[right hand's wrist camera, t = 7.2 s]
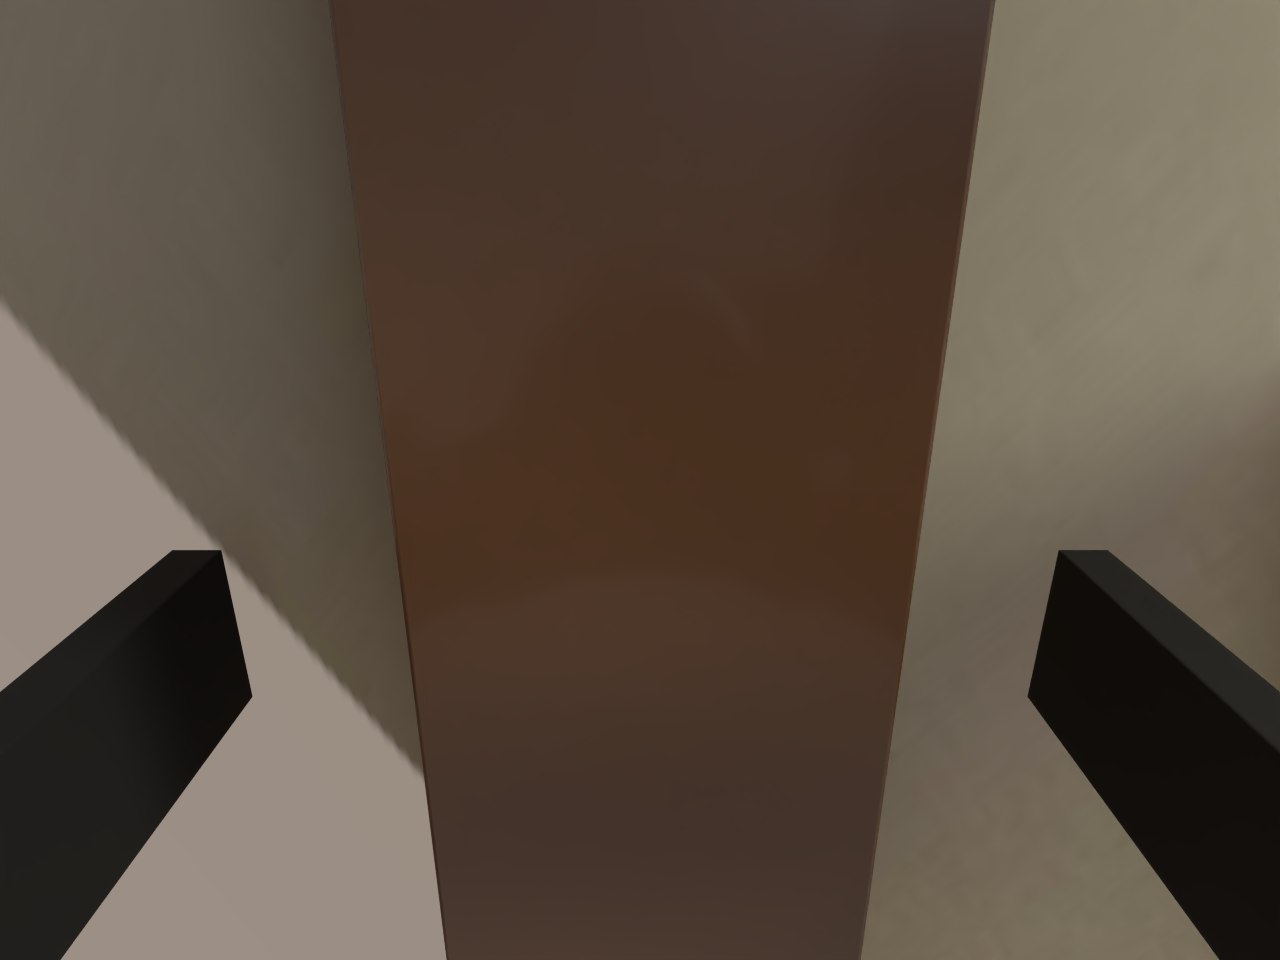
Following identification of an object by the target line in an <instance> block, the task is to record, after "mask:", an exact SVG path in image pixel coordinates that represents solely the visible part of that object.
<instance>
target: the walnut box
mask: <svg viewBox="0 0 1280 960" xmlns="http://www.w3.org/2000/svg"><path fill="white" fill-rule="evenodd" d="M994 6H995V0H329V8H330V17H331V25H332V33H333V41H334V49H335V57H336V65H337V73H338V81H339V90H340V98H341V106H342V114H343V122H344V130H345V138H346V146H347V155H348V163H349V171H350V179H351V187H352V195H353V203H354V211H355V219H356V228H357V236H358V244H359V252H360V260H361V268H362V276H363V284H364V292H365V301H366V309H367V317H368V325H369V333H370V341H371V349H372V357H373V365H374V374H375V382H376V390H377V398H378V406H379V414H380V422H381V430H382V439H383V447H384V455H385V463H386V471H387V479H388V487H389V495H390V503H391V512H392V520H393V528H394V536H395V544H396V552H397V560H398V568H399V577H400V585H401V593H402V601H403V609H404V617H405V625H406V633H407V641H408V650H409V658H410V666H411V674H412V682H413V690H414V698H415V706H416V714H417V723H418V731H419V739H420V747H421V755H422V763H423V771H424V779H425V788H426V796H427V804H428V812H429V820H430V828H431V836H432V844H433V852H434V861H435V869H436V877H437V884H438V893H439V901H440V909H441V917H442V925H443V934H444V942H445V950H446V958H447V960H860V959H861V952H862V945H863V938H864V931H865V924H866V917H867V909H868V902H869V895H870V888H871V881H872V874H873V867H874V860H875V852H876V845H877V838H878V831H879V824H880V817H881V810H882V803H883V796H884V788H885V781H886V774H887V767H888V760H889V753H890V746H891V739H892V732H893V724H894V717H895V710H896V703H897V696H898V689H899V682H900V675H901V667H902V660H903V653H904V646H905V639H906V632H907V625H908V618H909V611H910V603H911V596H912V589H913V582H914V575H915V568H916V561H917V554H918V546H919V539H920V532H921V525H922V518H923V511H924V504H925V497H926V490H927V482H928V475H929V468H930V461H931V454H932V447H933V440H934V433H935V426H936V418H937V411H938V404H939V397H940V390H941V383H942V376H943V369H944V361H945V354H946V347H947V340H948V333H949V326H950V319H951V312H952V305H953V297H954V290H955V283H956V276H957V269H958V262H959V255H960V248H961V241H962V233H963V226H964V219H965V212H966V205H967V198H968V191H969V184H970V176H971V169H972V162H973V155H974V148H975V141H976V134H977V127H978V120H979V112H980V105H981V98H982V91H983V84H984V77H985V70H986V63H987V55H988V48H989V41H990V34H991V27H992V20H993V13H994Z"/></svg>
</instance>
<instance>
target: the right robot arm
mask: <svg viewBox="0 0 1280 960" xmlns="http://www.w3.org/2000/svg"><path fill="white" fill-rule="evenodd" d="M251 698H252V692H251V688H250V683H249V678H248V674H247V669H246V664H245V660H244V655H243V650H242V646H241V641H240V636H239V631H238V627H237V622H236V617H235V613H234V608H233V603H232V599H231V594H230V589H229V584H228V580H227V575H226V570H225V566H224V561H223V556H222V551H221V550H172V551H171V552H170V553H168V554H167V555H166V556H165V557H164V558H162V559H161V560H160V561H159V562H158V563H156V564H155V565H154V566H153V567H152V568H150V569H149V570H148V571H147V572H145V573H144V574H143V575H142V576H141V577H139V578H138V579H137V580H136V581H135V582H133V583H132V584H131V585H130V586H128V587H127V588H126V589H125V590H124V591H122V592H121V593H120V594H119V595H117V596H116V597H115V598H114V599H113V600H111V601H110V602H109V603H108V604H107V605H105V606H104V607H103V608H102V609H100V610H99V611H98V612H97V613H96V614H94V615H93V616H92V617H91V618H90V619H88V620H87V621H86V622H85V623H83V624H82V625H81V626H80V627H79V628H77V629H76V630H75V631H74V632H73V633H71V634H70V635H69V636H68V637H66V638H65V639H64V640H63V641H62V642H60V643H59V644H58V645H57V646H56V647H54V648H53V649H52V650H51V651H49V652H48V653H47V654H46V655H45V656H43V657H42V658H41V659H40V660H39V661H37V662H36V663H35V664H34V665H32V666H31V667H30V668H29V669H28V670H26V671H25V672H24V673H23V674H22V675H20V676H19V677H18V678H17V679H15V680H14V681H13V682H12V683H11V684H9V685H8V686H7V687H6V688H5V689H3V690H2V691H1V692H0V960H61V958H62V957H63V956H64V954H65V953H66V951H67V950H68V949H69V947H70V946H71V945H72V943H73V942H74V940H75V939H76V938H77V936H78V935H79V934H80V932H81V931H82V930H83V928H84V927H85V925H86V924H87V923H88V921H89V920H90V919H91V917H92V916H93V914H94V913H95V912H96V910H97V909H98V908H99V906H100V905H101V903H102V902H103V901H104V899H105V898H106V897H107V895H108V894H109V892H110V891H111V890H112V888H113V887H114V886H115V884H116V883H117V882H118V880H119V879H120V877H121V876H122V875H123V873H124V872H125V870H126V869H127V868H128V866H129V865H130V864H131V862H132V861H133V860H134V858H135V857H136V855H137V854H138V853H139V851H140V850H141V849H142V847H143V846H144V844H145V843H146V842H147V840H148V839H149V838H150V836H151V835H152V834H153V832H154V831H155V829H156V828H157V827H158V825H159V824H160V823H161V821H162V820H163V818H164V817H165V816H166V814H167V813H168V812H169V810H170V809H171V807H172V806H173V805H174V803H175V802H176V801H177V799H178V798H179V796H180V795H181V794H182V792H183V791H184V790H185V788H186V787H187V786H188V784H189V783H190V781H191V780H192V779H193V777H194V776H195V774H196V773H197V772H198V770H199V769H200V768H201V766H202V765H203V764H204V762H205V761H206V760H207V758H208V757H209V755H210V754H211V753H212V751H213V750H214V748H215V747H216V746H217V744H218V743H219V742H220V740H221V739H222V737H223V736H224V735H225V733H226V732H227V731H228V729H229V728H230V727H231V725H232V724H233V722H234V721H235V720H236V718H237V717H238V716H239V714H240V713H241V712H242V710H243V709H244V707H245V706H246V705H247V703H248V702H249V701H250V699H251ZM1028 698H1029V699H1030V701H1031V702H1032V703H1033V705H1034V706H1035V707H1036V709H1037V710H1038V712H1039V713H1040V714H1041V716H1042V717H1043V718H1044V720H1045V721H1046V723H1047V724H1048V725H1049V727H1050V728H1051V729H1052V731H1053V732H1054V733H1055V735H1056V736H1057V738H1058V739H1059V740H1060V742H1061V743H1062V744H1063V746H1064V747H1065V749H1066V750H1067V751H1068V753H1069V754H1070V755H1071V757H1072V758H1073V760H1074V761H1075V762H1076V764H1077V765H1078V766H1079V768H1080V769H1081V770H1082V772H1083V773H1084V775H1085V776H1086V777H1087V779H1088V780H1089V781H1090V783H1091V784H1092V786H1093V787H1094V788H1095V790H1096V791H1097V792H1098V794H1099V795H1100V797H1101V798H1102V799H1103V801H1104V802H1105V803H1106V805H1107V806H1108V808H1109V809H1110V810H1111V812H1112V813H1113V814H1114V816H1115V817H1116V818H1117V820H1118V821H1119V823H1120V824H1121V825H1122V827H1123V828H1124V829H1125V831H1126V832H1127V834H1128V835H1129V836H1130V838H1131V839H1132V840H1133V842H1134V843H1135V845H1136V846H1137V847H1138V849H1139V850H1140V851H1141V853H1142V854H1143V855H1144V857H1145V858H1146V860H1147V861H1148V862H1149V864H1150V865H1151V866H1152V868H1153V869H1154V871H1155V872H1156V873H1157V875H1158V876H1159V877H1160V879H1161V880H1162V882H1163V883H1164V884H1165V886H1166V887H1167V888H1168V890H1169V891H1170V892H1171V894H1172V895H1173V897H1174V898H1175V899H1176V901H1177V902H1178V903H1179V905H1180V906H1181V908H1182V909H1183V910H1184V912H1185V913H1186V914H1187V916H1188V917H1189V919H1190V920H1191V921H1192V923H1193V924H1194V925H1195V927H1196V928H1197V930H1198V931H1199V932H1200V934H1201V935H1202V936H1203V938H1204V939H1205V940H1206V942H1207V943H1208V945H1209V946H1210V947H1211V949H1212V950H1213V951H1214V953H1215V954H1216V956H1217V957H1218V958H1219V960H1280V692H1279V691H1278V690H1277V689H1275V688H1274V687H1273V686H1272V685H1271V684H1269V683H1268V682H1267V681H1266V680H1265V679H1263V678H1262V677H1261V676H1260V675H1258V674H1257V673H1256V672H1255V671H1254V670H1252V669H1251V668H1250V667H1249V666H1248V665H1246V664H1245V663H1244V662H1243V661H1241V660H1240V659H1239V658H1238V657H1237V656H1235V655H1234V654H1233V653H1232V652H1231V651H1229V650H1228V649H1227V648H1226V647H1224V646H1223V645H1222V644H1221V643H1220V642H1218V641H1217V640H1216V639H1215V638H1214V637H1212V636H1211V635H1210V634H1209V633H1207V632H1206V631H1205V630H1204V629H1203V628H1201V627H1200V626H1199V625H1198V624H1197V623H1195V622H1194V621H1193V620H1192V619H1190V618H1189V617H1188V616H1187V615H1186V614H1184V613H1183V612H1182V611H1181V610H1180V609H1178V608H1177V607H1176V606H1175V605H1173V604H1172V603H1171V602H1170V601H1169V600H1167V599H1166V598H1165V597H1164V596H1163V595H1161V594H1160V593H1159V592H1158V591H1156V590H1155V589H1154V588H1153V587H1152V586H1150V585H1149V584H1148V583H1147V582H1146V581H1144V580H1143V579H1142V578H1141V577H1139V576H1138V575H1137V574H1136V573H1135V572H1133V571H1132V570H1131V569H1130V568H1129V567H1127V566H1126V565H1125V564H1124V563H1122V562H1121V561H1120V560H1119V559H1118V558H1116V557H1115V556H1114V555H1113V554H1112V553H1110V552H1109V551H1108V550H1059V551H1058V556H1057V561H1056V566H1055V570H1054V575H1053V580H1052V584H1051V589H1050V594H1049V598H1048V603H1047V608H1046V613H1045V617H1044V622H1043V627H1042V631H1041V636H1040V641H1039V645H1038V650H1037V655H1036V660H1035V664H1034V669H1033V674H1032V678H1031V683H1030V688H1029V692H1028Z"/></svg>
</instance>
